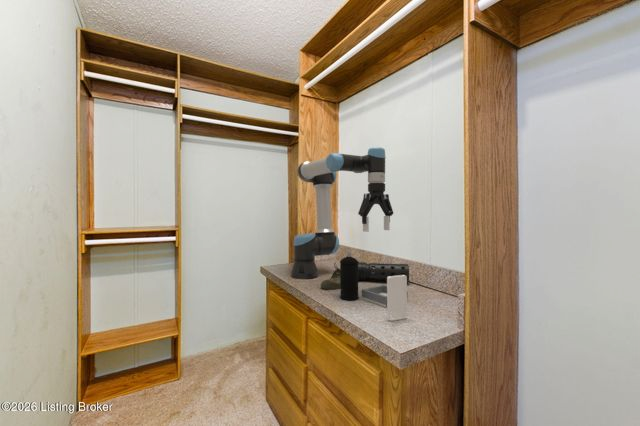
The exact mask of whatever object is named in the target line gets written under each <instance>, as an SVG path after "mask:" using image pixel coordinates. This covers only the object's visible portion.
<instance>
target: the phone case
mask: <svg viewBox="0 0 640 426" xmlns="http://www.w3.org/2000/svg"><path fill="white" fill-rule="evenodd" d="M386 286H387V307H386V310H387V312H386V313H387V315H386V316H387V320H389V321H390V322H393V321H397V320H398V321H399V320H404V319H407V317H408V301H407V292H408V290H407V289H408V283H407V277H406V276H405V275H398V276H389V277H387V282H386Z"/></svg>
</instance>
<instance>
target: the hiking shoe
mask: <svg viewBox="0 0 640 426" xmlns="http://www.w3.org/2000/svg"><path fill="white" fill-rule="evenodd" d="M333 265H334V268H335V270H334V271H333V273H332V274H331V276H330V277H329V278H327V279H324V280H322V281H321V283H320V289H324V290H328V291H335V290H341V287H340V268H339V267H338V266H337V263H336V262H334V263H333Z"/></svg>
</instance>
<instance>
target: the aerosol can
mask: <svg viewBox="0 0 640 426" xmlns="http://www.w3.org/2000/svg"><path fill="white" fill-rule="evenodd" d="M359 262H360V261H358V260H357V259H356V258H355V257H352V251H346V257H343V258H341V260H340V261H339V263H340V264H339V266H340V268H339V269H340V287H341V289H340V295H339V299H341V300H343V301H346V302H347V301H348V302H353V301H357V300H359V299H360V297H359V280H358V263H359Z"/></svg>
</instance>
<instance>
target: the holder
mask: <svg viewBox="0 0 640 426" xmlns="http://www.w3.org/2000/svg"><path fill="white" fill-rule="evenodd" d="M408 294H409V292H408V291H407V302H409V301H408V300H409V298H408ZM361 300H364V301H366V302H370V303H372V304H375V305H377V306H381V307H382V308H386V309H387V285H385V284H382V285H376V286H373V287H369V288H364V289H361Z"/></svg>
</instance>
